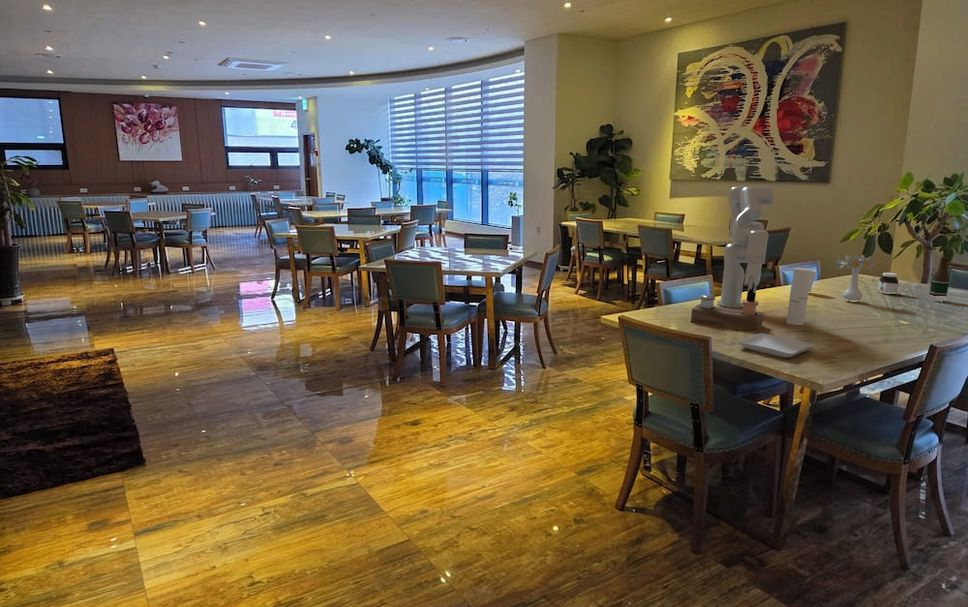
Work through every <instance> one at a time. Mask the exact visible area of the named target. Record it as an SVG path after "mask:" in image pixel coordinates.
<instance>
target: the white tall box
mask: <svg viewBox="0 0 968 607" xmlns="http://www.w3.org/2000/svg"><path fill="white" fill-rule="evenodd" d="M791 278H792V279H791V286H790V292H789V299H788V307H787V315H786V316H787V317H786V322H787V323H788V324H787V323H786V324H787V325H789V324H793V325H792V326H794V325H802V324H804V325H805V319H806V312H807V305H808V298H809V294H808V292H809V285H810V278H811V268H805V267H793V271H792V277H791Z"/></svg>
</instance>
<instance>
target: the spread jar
mask: <svg viewBox="0 0 968 607" xmlns="http://www.w3.org/2000/svg"><path fill="white" fill-rule="evenodd" d="M898 289H899V290H898ZM878 290H880V291H884V292H896V293H897V292H898V291H899V293H900V292H903V293H904V291H903V287H902V283H901V282H900V283H899V280H898V274H897V273H894V272H882V276H881V277H879V280H878V286H877V291H878Z"/></svg>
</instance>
